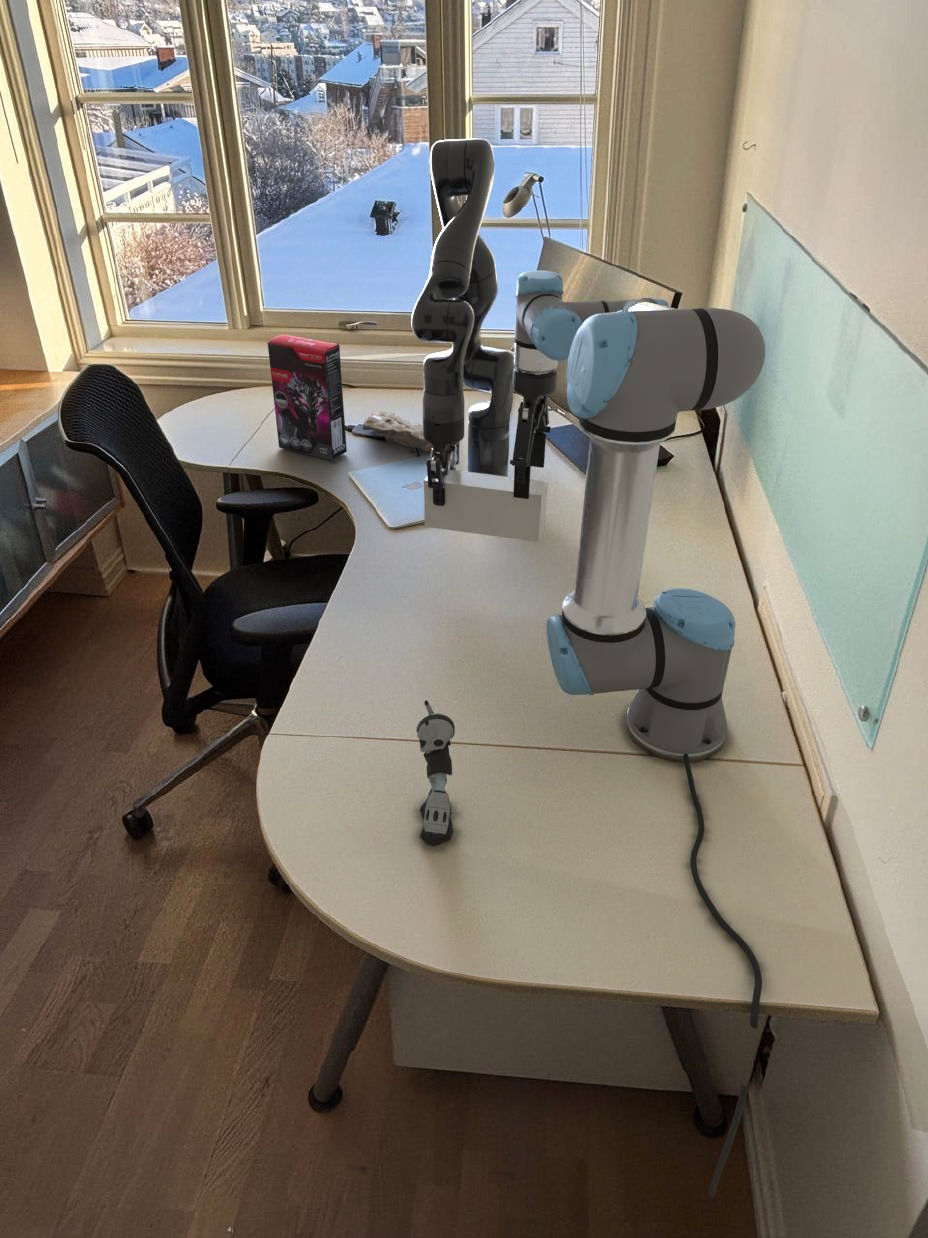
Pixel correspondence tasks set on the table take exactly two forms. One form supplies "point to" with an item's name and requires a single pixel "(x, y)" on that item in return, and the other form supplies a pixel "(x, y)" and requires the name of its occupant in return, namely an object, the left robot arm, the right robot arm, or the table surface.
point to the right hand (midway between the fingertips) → (529, 481)
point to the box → (487, 506)
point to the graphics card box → (308, 395)
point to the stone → (397, 430)
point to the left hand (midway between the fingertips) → (444, 496)
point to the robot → (436, 775)
